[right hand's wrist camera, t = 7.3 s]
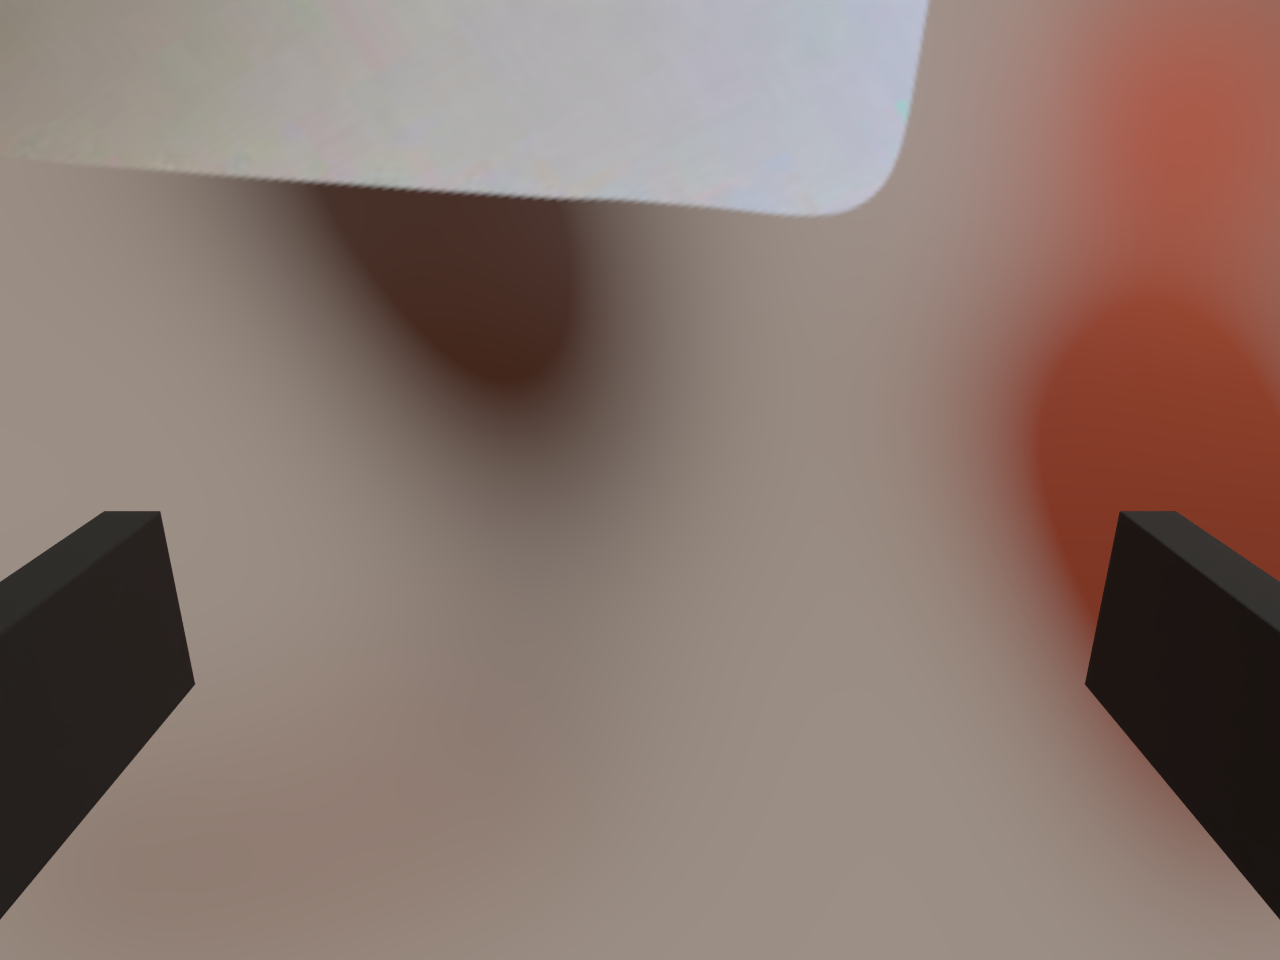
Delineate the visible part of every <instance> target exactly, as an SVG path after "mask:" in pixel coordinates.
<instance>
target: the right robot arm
mask: <svg viewBox="0 0 1280 960" xmlns="http://www.w3.org/2000/svg"><path fill="white" fill-rule="evenodd" d="M194 685H195V682H194V677H193V672H192V667H191V662H190V657H189V652H188V647H187V642H186V637H185V632H184V627H183V622H182V617H181V612H180V608H179V602H178V597H177V592H176V587H175V583H174V578H173V573H172V568H171V563H170V558H169V553H168V548H167V543H166V538H165V533H164V528H163V523H162V518H161V513H160V511H104V512H103V513H101V514H100V515H98V516H97V517H95V518H94V519H92V520H91V521H89V522H88V523H86V524H85V525H83V526H82V527H80V528H79V529H77V530H76V531H75V532H73V533H72V534H70V535H69V536H67V537H66V538H64V539H63V540H61V541H60V542H58V543H57V544H55V545H54V546H52V547H51V548H50V549H48V550H47V551H45V552H44V553H42V554H41V555H39V556H38V557H36V558H35V559H33V560H32V561H30V562H29V563H27V564H26V565H24V566H23V567H22V568H20V569H19V570H17V571H16V572H14V573H13V574H11V575H10V576H8V577H7V578H5V579H4V580H2V581H1V582H0V919H1V918H2V917H3V915H4V914H5V913H6V912H7V911H8V909H9V908H10V907H11V906H12V905H13V903H14V902H15V901H16V900H17V899H18V897H19V896H20V895H21V894H22V892H23V891H24V890H25V889H26V888H27V886H28V885H29V884H30V883H31V882H32V880H33V879H34V878H35V877H36V876H37V874H38V873H39V872H40V871H41V870H42V868H43V867H44V866H45V865H46V864H47V862H48V861H49V860H50V859H51V857H52V856H53V855H54V854H55V853H56V851H57V850H58V849H59V848H60V847H61V845H62V844H63V843H64V842H65V841H66V839H67V838H68V837H69V836H70V835H71V833H72V832H73V831H74V830H75V828H76V827H77V826H78V825H79V824H80V823H81V821H82V820H83V819H84V818H85V816H86V815H87V814H88V813H89V812H90V810H91V809H92V808H93V807H94V806H95V804H96V803H97V802H98V801H99V800H100V798H101V797H102V796H103V795H104V794H105V792H106V791H107V790H108V789H109V787H110V786H111V785H112V784H113V783H114V781H115V780H116V779H117V778H118V777H119V775H120V774H121V773H122V772H123V771H124V769H125V768H126V767H127V766H128V765H129V763H130V762H131V761H132V760H133V759H134V757H135V756H136V755H137V754H138V753H139V751H140V750H141V749H142V748H143V746H144V745H145V744H146V743H147V742H148V740H149V739H150V738H151V737H152V735H153V734H154V733H155V732H156V731H157V730H158V728H159V727H160V726H161V725H162V724H163V722H164V721H165V720H166V719H167V718H168V716H169V715H170V714H171V713H172V711H173V710H174V709H175V708H176V707H177V705H178V704H179V703H180V702H181V701H182V699H183V698H184V697H185V696H186V695H187V693H188V692H189V691H190V690H191V689H192V687H193V686H194ZM1085 685H1086V686H1087V687H1088V689H1089V690H1090V691H1091V692H1092V693H1093V695H1094V696H1095V697H1096V698H1097V699H1098V701H1099V702H1100V703H1101V704H1102V705H1103V707H1104V708H1105V709H1106V710H1107V711H1108V713H1109V714H1110V715H1111V716H1112V718H1113V719H1114V720H1115V721H1116V722H1117V723H1118V725H1119V726H1120V727H1121V728H1122V730H1123V731H1124V732H1125V733H1126V734H1127V736H1128V737H1129V738H1130V739H1131V740H1132V742H1133V743H1134V744H1135V745H1136V746H1137V748H1138V749H1139V750H1140V751H1141V752H1142V754H1143V755H1144V756H1145V757H1146V759H1147V760H1148V761H1149V762H1150V763H1151V765H1152V766H1153V767H1154V768H1155V769H1156V771H1157V772H1158V773H1159V774H1160V775H1161V777H1162V778H1163V779H1164V780H1165V781H1166V783H1167V784H1168V785H1169V786H1170V788H1171V789H1172V790H1173V791H1174V792H1175V794H1176V795H1177V796H1178V797H1179V798H1180V800H1181V801H1182V802H1183V803H1184V804H1185V806H1186V807H1187V808H1188V809H1189V810H1190V812H1191V813H1192V814H1193V815H1194V816H1195V818H1196V819H1197V820H1198V821H1199V822H1200V824H1201V825H1202V826H1203V827H1204V829H1205V830H1206V831H1207V832H1208V833H1209V835H1210V836H1211V837H1212V838H1213V839H1214V841H1215V842H1216V843H1217V844H1218V845H1219V847H1220V848H1221V849H1222V850H1223V851H1224V853H1225V854H1226V855H1227V856H1228V858H1229V859H1230V860H1231V861H1232V862H1233V863H1234V865H1235V866H1236V867H1237V868H1238V870H1239V871H1240V872H1241V873H1242V874H1243V876H1244V877H1245V878H1246V879H1247V880H1248V882H1249V883H1250V884H1251V885H1252V886H1253V888H1254V889H1255V890H1256V891H1257V892H1258V894H1259V895H1260V896H1261V897H1262V898H1263V900H1264V901H1265V902H1266V903H1267V905H1268V906H1269V907H1270V908H1271V909H1272V911H1273V912H1274V913H1275V914H1276V915H1277V917H1278V918H1279V919H1280V582H1279V581H1278V580H1276V579H1275V578H1273V577H1272V576H1270V575H1269V574H1267V573H1266V572H1264V571H1263V570H1261V569H1260V568H1258V567H1257V566H1256V565H1254V564H1253V563H1251V562H1250V561H1248V560H1247V559H1245V558H1244V557H1242V556H1241V555H1239V554H1238V553H1236V552H1235V551H1233V550H1232V549H1231V548H1229V547H1228V546H1226V545H1225V544H1223V543H1222V542H1220V541H1219V540H1217V539H1216V538H1214V537H1213V536H1211V535H1210V534H1208V533H1207V532H1205V531H1204V530H1203V529H1201V528H1200V527H1198V526H1197V525H1195V524H1194V523H1192V522H1191V521H1189V520H1188V519H1186V518H1185V517H1183V516H1182V515H1180V514H1179V513H1178V512H1176V511H1120V513H1119V518H1118V523H1117V528H1116V533H1115V538H1114V543H1113V548H1112V553H1111V558H1110V563H1109V568H1108V573H1107V578H1106V582H1105V587H1104V592H1103V597H1102V602H1101V607H1100V612H1099V617H1098V622H1097V627H1096V632H1095V637H1094V642H1093V647H1092V652H1091V657H1090V662H1089V667H1088V672H1087V677H1086V682H1085Z"/></svg>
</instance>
